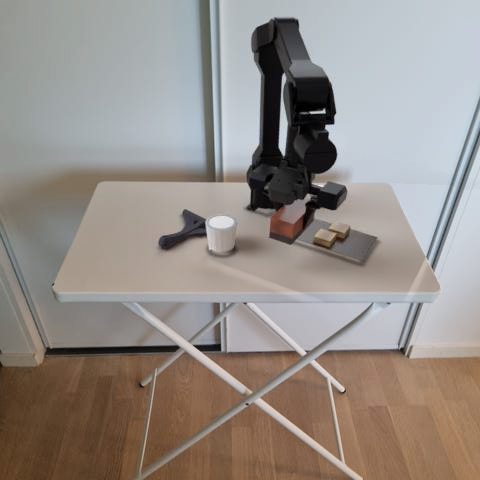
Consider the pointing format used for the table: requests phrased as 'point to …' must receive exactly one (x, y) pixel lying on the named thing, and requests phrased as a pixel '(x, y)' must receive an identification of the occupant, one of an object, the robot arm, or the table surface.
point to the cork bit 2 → (339, 229)
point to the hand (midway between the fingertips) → (292, 224)
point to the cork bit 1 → (325, 237)
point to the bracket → (185, 229)
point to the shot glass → (221, 232)
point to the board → (340, 240)
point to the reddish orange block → (289, 222)
